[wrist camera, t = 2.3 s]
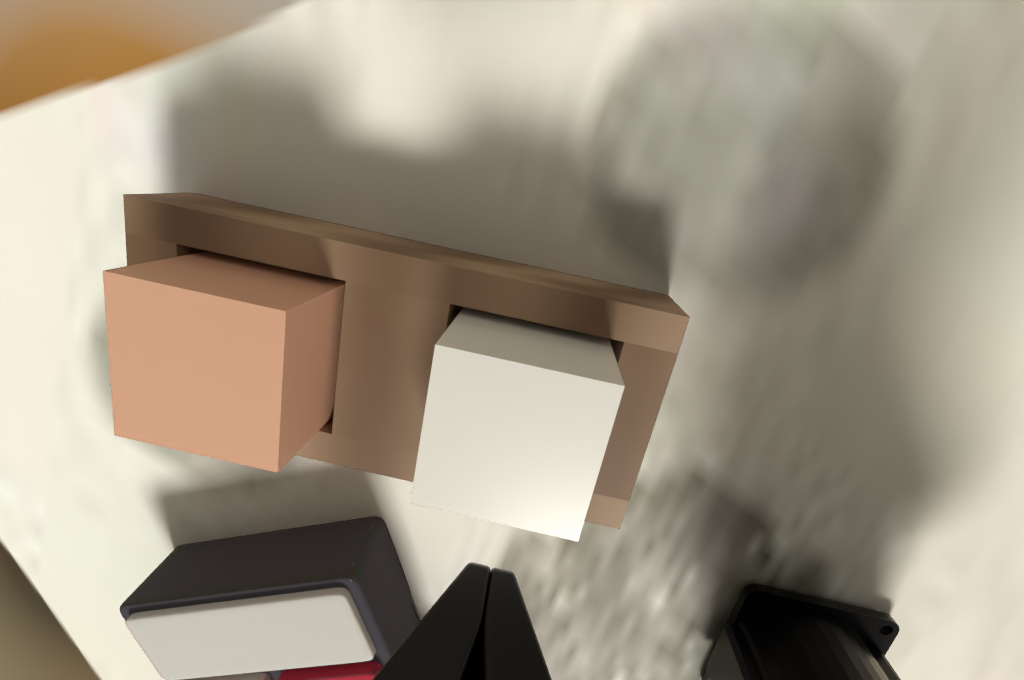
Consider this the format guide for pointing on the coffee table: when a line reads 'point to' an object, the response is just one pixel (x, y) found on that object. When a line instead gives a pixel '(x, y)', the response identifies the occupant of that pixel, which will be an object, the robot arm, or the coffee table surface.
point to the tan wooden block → (222, 356)
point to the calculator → (276, 605)
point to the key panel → (424, 324)
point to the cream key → (516, 423)
